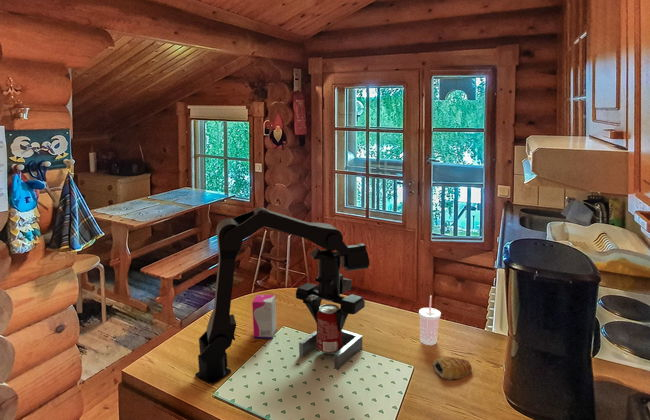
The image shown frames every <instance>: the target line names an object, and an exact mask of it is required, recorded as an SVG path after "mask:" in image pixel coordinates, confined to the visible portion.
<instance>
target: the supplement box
mask: <svg viewBox="0 0 650 420" xmlns="http://www.w3.org/2000/svg"><path fill="white" fill-rule="evenodd" d="M276 309H277V307H276V295H275V294H256V296H255V297H254V299H253V300H252V320H253V321H252V322H253V324H252V325H253V339H262V340H263V339H266V340H267V339H268V340H269V339H270V340H273V339H274V336H275V334H276V332H277V329H278V328H277V311H276Z"/></svg>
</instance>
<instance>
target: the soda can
mask: <svg viewBox="0 0 650 420" xmlns="http://www.w3.org/2000/svg"><path fill="white" fill-rule="evenodd" d="M339 306H340V305H339ZM339 306H338V305H337V304H334V303H325V304H321V306H320V307H319V311H318V313H317V323H316V330H317V347H316V348H317V350H318V351H319V352H321V353H324V354H328V355H330V354H331V355H332V354H336V353H337V352H338V351H339V350H341V349H342V348H343V345H342V330H341V331H339V330H338V326H337V316H336V311H337V310H338V309H340V307H339Z"/></svg>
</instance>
